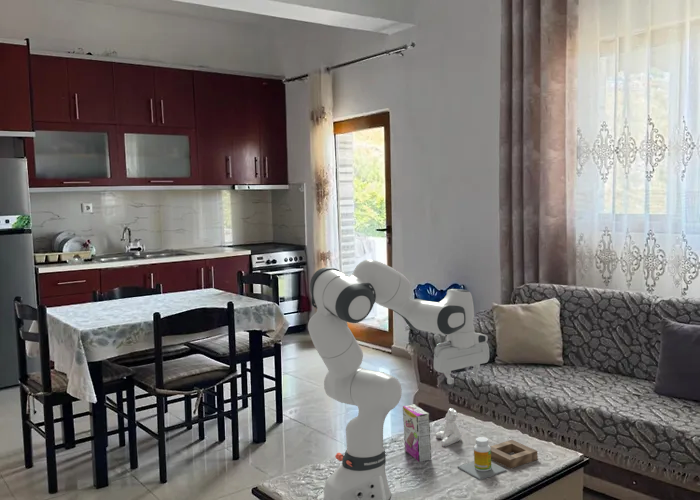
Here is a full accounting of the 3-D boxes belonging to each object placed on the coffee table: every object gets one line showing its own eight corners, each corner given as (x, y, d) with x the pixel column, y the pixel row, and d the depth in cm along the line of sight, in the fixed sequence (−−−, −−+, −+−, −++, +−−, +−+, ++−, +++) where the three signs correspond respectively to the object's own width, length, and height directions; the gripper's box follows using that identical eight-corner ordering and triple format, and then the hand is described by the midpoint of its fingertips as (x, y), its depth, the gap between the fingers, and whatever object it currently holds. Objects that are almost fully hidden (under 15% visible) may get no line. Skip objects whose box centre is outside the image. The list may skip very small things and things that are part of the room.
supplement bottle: (491, 472, 211) (490, 442, 210) (474, 471, 212) (473, 442, 211) (491, 465, 216) (490, 436, 215) (474, 464, 217) (473, 435, 216)
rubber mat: (479, 480, 207) (479, 478, 207) (457, 467, 217) (457, 466, 217) (506, 471, 212) (506, 469, 212) (483, 459, 222) (483, 458, 222)
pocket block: (510, 468, 214) (509, 459, 214) (485, 456, 224) (485, 447, 224) (537, 459, 220) (537, 450, 219) (512, 448, 230) (511, 439, 230)
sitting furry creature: (434, 437, 243) (433, 405, 242) (457, 434, 245) (455, 403, 244) (442, 447, 234) (441, 414, 233) (465, 444, 236) (464, 411, 234)
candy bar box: (403, 451, 232) (401, 405, 230) (416, 448, 234) (414, 403, 232) (418, 463, 222) (416, 415, 220) (432, 460, 224) (430, 413, 222)
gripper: (440, 345, 204) (442, 389, 206) (491, 335, 214) (493, 377, 216) (428, 342, 210) (430, 384, 211) (478, 332, 220) (480, 372, 221)
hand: (462, 380), depth 213 cm, fingers open, 8 cm apart
